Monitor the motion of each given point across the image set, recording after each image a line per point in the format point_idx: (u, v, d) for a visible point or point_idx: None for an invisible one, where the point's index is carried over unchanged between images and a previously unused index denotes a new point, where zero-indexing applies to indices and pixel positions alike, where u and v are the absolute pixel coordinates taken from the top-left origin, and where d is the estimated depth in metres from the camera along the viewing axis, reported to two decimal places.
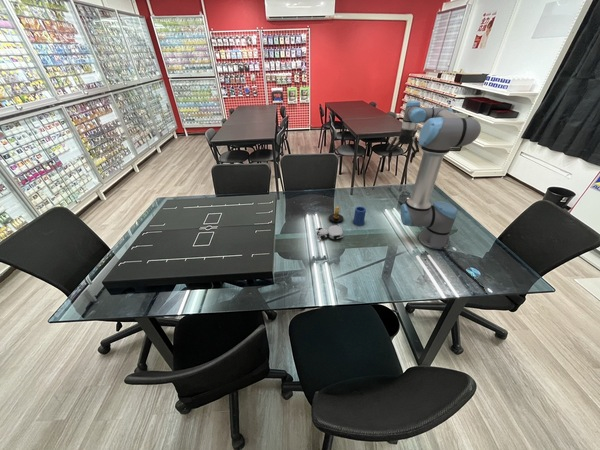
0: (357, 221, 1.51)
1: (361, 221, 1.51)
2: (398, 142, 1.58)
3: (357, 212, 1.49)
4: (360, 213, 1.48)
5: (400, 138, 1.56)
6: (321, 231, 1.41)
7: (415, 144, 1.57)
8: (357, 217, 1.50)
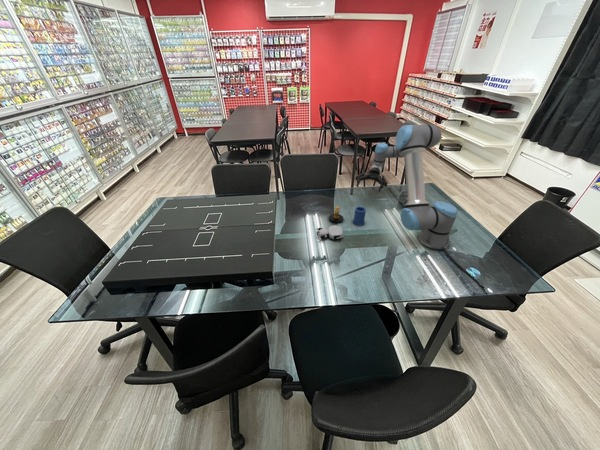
0: (357, 221, 1.51)
1: (361, 221, 1.51)
2: None
3: (357, 212, 1.49)
4: (360, 213, 1.48)
5: (368, 173, 1.63)
6: (321, 231, 1.41)
7: (383, 179, 1.58)
8: (357, 217, 1.50)
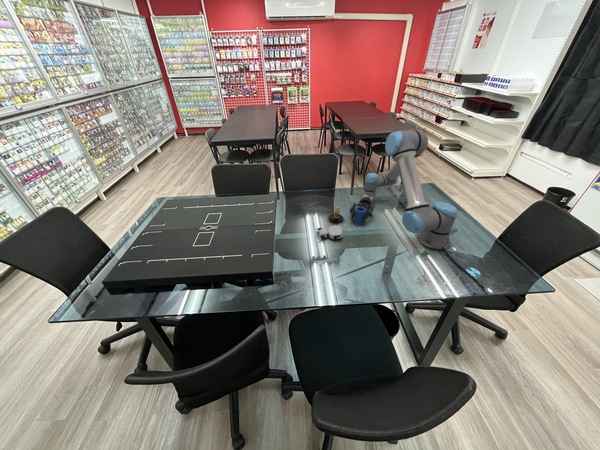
0: (357, 221, 1.51)
1: (361, 221, 1.51)
2: (358, 206, 1.59)
3: (357, 212, 1.49)
4: (360, 213, 1.48)
5: (359, 203, 1.62)
6: (321, 231, 1.41)
7: (371, 209, 1.56)
8: (357, 217, 1.50)
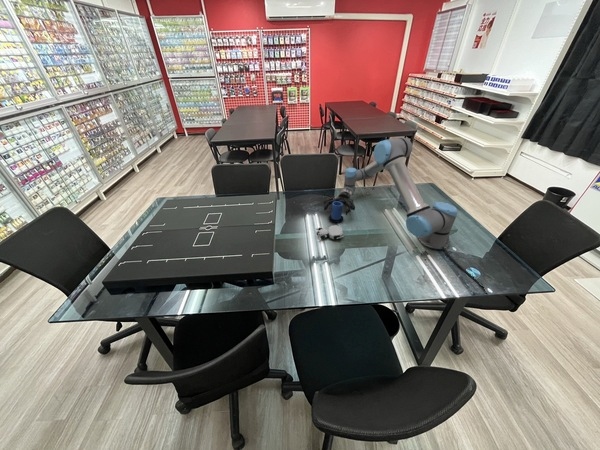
0: (334, 216, 1.53)
1: (338, 215, 1.53)
2: None
3: (334, 206, 1.51)
4: (337, 207, 1.50)
5: (337, 197, 1.63)
6: (321, 231, 1.41)
7: (351, 203, 1.57)
8: (333, 211, 1.52)
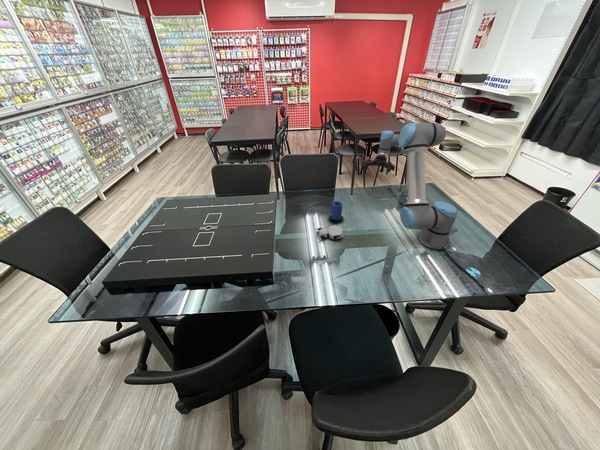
0: (334, 216, 1.53)
1: (338, 215, 1.53)
2: None
3: (334, 206, 1.51)
4: (337, 207, 1.50)
5: (374, 159, 1.60)
6: (321, 231, 1.41)
7: (389, 164, 1.54)
8: (333, 211, 1.52)
